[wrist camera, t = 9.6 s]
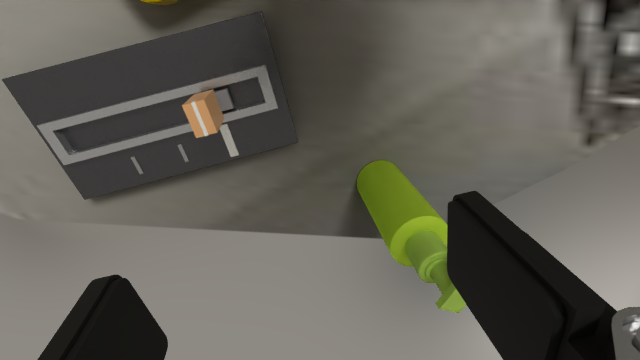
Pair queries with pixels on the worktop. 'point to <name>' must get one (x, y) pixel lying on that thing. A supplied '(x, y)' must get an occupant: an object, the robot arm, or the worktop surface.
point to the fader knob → (207, 111)
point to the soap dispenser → (409, 227)
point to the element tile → (160, 2)
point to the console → (157, 105)
